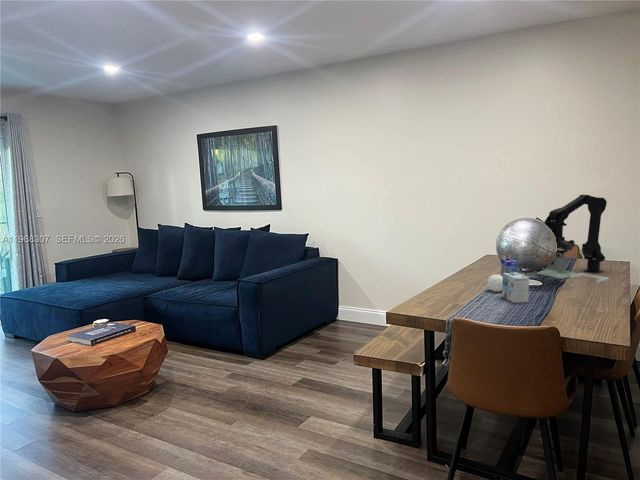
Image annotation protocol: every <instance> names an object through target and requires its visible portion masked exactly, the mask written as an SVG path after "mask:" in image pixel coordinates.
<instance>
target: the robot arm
mask: <svg viewBox="0 0 640 480" xmlns="http://www.w3.org/2000/svg"><path fill="white" fill-rule="evenodd" d="M584 205H587V210H588V213H589V215H590V216H589V221H588V222H589V223H588V224H589V225H588V231H587V232H588V233H587V241H586V242H585V243H582V244H581V246H582V247H581V252H582V255H583V258H584V260H587V263H586V264H587V265H586V269H584V272H589V273H597V274H598V273H601V272H603V271H604V270H602V269H601V262H602V263H603V262H604V261H605V260H606V256H605V255H604V254H603V253H602V249H601V248H602V247H601V245H600V242H599V239H600V238H599V237H600V229H601V218H602V214H603V213H604V212H605V210H606V208H607V205H608V203H607V200H606V199H605V197H596V196H593V195H590V194H579V196H578V197H576V198H574V199H573V200H572V201H570V202H567V204H566V205H564V206H561V207H558V208H555V209H553V210H550V212H549V214H548V215H547V218H546V219H545V220H544V222H543V223H545V224H546V225H547V226H548V227H549V228H550V229H551V230H552V232H553V233H554V235H555V237H556V242H557V252H556V253H561V254H562V256H564V255H565V254H566V253H568V251H572V250H573V248H574V247H575V246H576V245H575V244H576V243H575V240H573V239H570V240H566V238H565V236H564V235H563V233H564V227H566V226H567V225H568V224H567V223H565V220H567V218H568V217H569V215H571V213H573V212H574V211H576V210H578V209H579V208H581V207H583V206H584ZM556 255H560V254H556ZM553 262H554V260H553ZM553 262H552V263H551V265H553Z"/></svg>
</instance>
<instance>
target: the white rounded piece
mask: <svg viewBox="0 0 640 480" xmlns="http://www.w3.org/2000/svg"><path fill="white" fill-rule="evenodd" d="M502 286H503V277H502V276H501V274H492V275H491V276H489V278H488V279H487V287H488V289H489V290H491V291H492V292H494V293H500V292H502Z"/></svg>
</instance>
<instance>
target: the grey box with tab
mask: <svg viewBox="0 0 640 480" xmlns="http://www.w3.org/2000/svg"><path fill="white" fill-rule="evenodd" d="M556 254H560V255H556V257H555V259H554V262H553V265H551V264H550V265H549V266H548V267H547V268H546V269H552V270H557V271H562V270H565V271H567V259H568V258H567V256H565V255H563V256H562V254H561V253H556Z"/></svg>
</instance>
